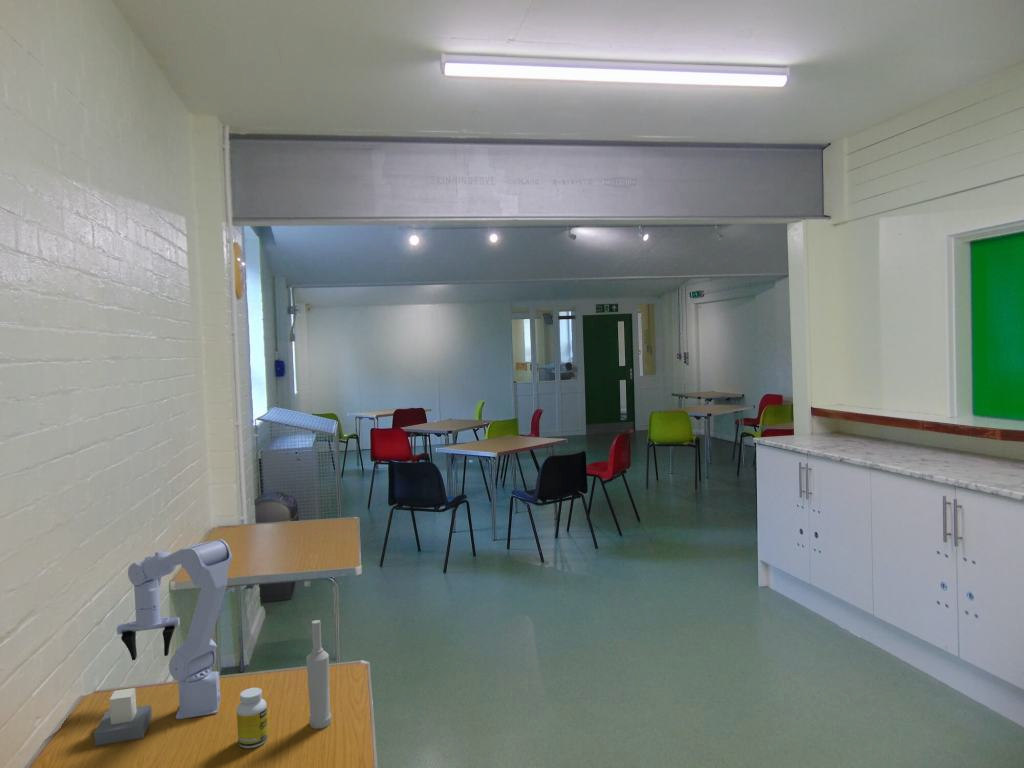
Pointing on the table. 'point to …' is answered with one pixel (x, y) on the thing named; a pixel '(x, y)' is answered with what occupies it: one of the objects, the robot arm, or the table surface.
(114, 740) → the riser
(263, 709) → the pill bottle
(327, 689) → the bottle
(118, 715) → the cream block
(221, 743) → the table surface
